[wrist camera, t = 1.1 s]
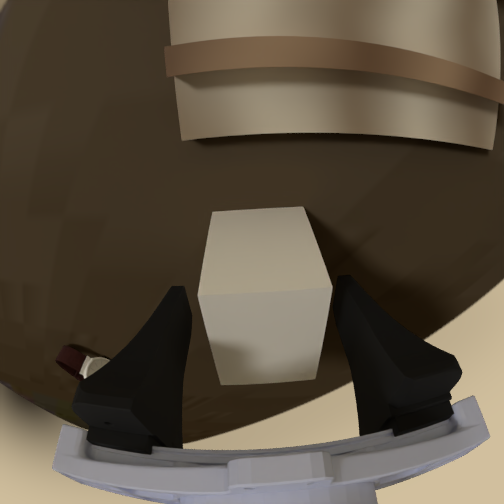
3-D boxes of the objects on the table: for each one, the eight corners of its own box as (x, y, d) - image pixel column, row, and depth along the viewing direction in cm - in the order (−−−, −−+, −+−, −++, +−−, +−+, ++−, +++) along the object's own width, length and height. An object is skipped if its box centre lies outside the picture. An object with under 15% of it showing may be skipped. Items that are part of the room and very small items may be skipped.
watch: (144, 378, 24) (137, 412, 21) (118, 388, 26) (111, 419, 23) (74, 331, 20) (59, 367, 17) (55, 347, 22) (42, 379, 19)
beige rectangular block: (303, 206, 15) (332, 287, 10) (298, 300, 18) (314, 383, 13) (212, 211, 15) (197, 295, 10) (226, 305, 18) (222, 389, 14)
